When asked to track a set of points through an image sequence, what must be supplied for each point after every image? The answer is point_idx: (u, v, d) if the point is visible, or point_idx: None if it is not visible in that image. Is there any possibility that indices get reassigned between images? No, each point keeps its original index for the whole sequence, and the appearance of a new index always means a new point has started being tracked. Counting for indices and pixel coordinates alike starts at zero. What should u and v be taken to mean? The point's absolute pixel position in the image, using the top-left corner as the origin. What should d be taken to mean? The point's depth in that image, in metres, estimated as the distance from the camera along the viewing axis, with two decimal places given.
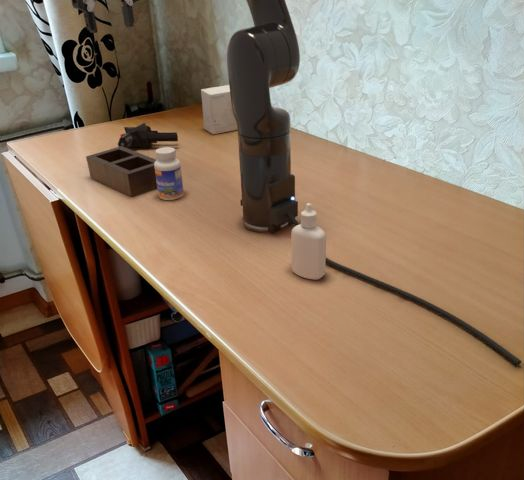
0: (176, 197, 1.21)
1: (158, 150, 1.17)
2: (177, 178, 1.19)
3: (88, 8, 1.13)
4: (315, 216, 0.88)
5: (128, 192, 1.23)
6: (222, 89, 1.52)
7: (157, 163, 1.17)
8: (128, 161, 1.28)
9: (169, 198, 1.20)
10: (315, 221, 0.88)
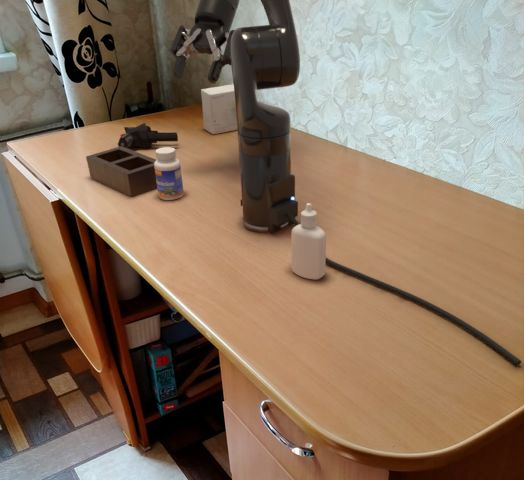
0: (176, 197, 1.21)
1: (158, 150, 1.17)
2: (177, 178, 1.19)
3: (177, 53, 1.19)
4: (315, 216, 0.88)
5: (128, 192, 1.23)
6: (222, 89, 1.52)
7: (157, 163, 1.17)
8: (128, 161, 1.28)
9: (169, 198, 1.20)
10: (315, 221, 0.88)
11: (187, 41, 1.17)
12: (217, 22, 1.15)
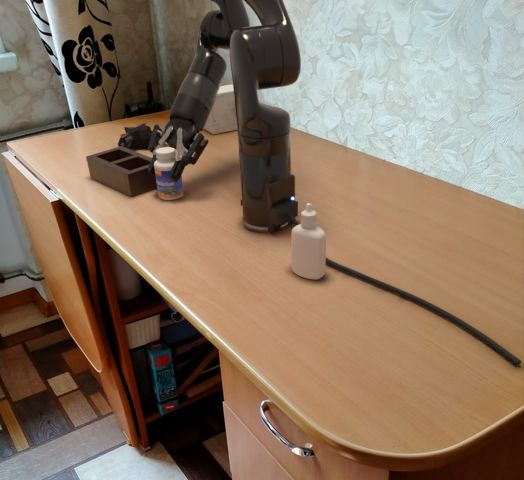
0: (176, 197, 1.21)
1: (158, 150, 1.17)
2: None
3: (153, 152, 1.20)
4: (315, 216, 0.88)
5: (128, 192, 1.23)
6: (222, 89, 1.52)
7: (157, 163, 1.17)
8: (128, 161, 1.28)
9: (169, 198, 1.20)
10: (315, 221, 0.88)
11: (161, 139, 1.19)
12: (189, 121, 1.17)
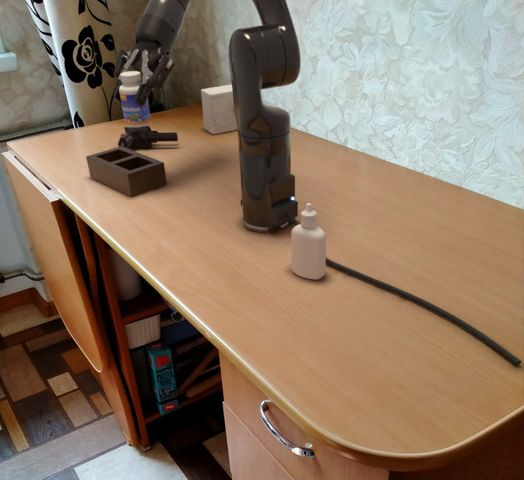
0: (143, 124, 1.17)
1: (123, 73, 1.13)
2: None
3: (119, 77, 1.16)
4: (315, 216, 0.88)
5: (128, 192, 1.23)
6: (222, 89, 1.52)
7: (121, 87, 1.13)
8: (128, 161, 1.28)
9: (135, 125, 1.17)
10: (315, 221, 0.88)
11: (127, 63, 1.15)
12: (155, 43, 1.13)
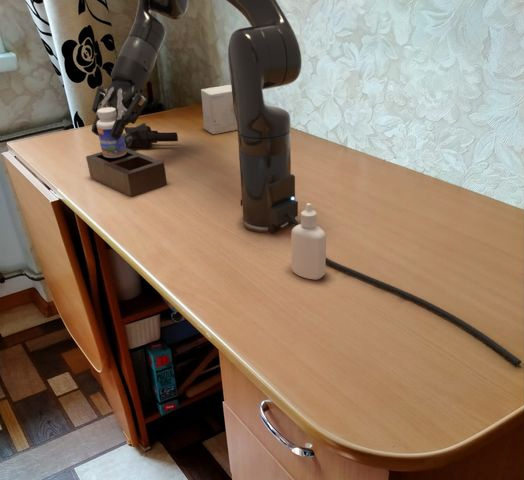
0: (119, 155, 1.28)
1: (99, 110, 1.24)
2: None
3: (96, 112, 1.27)
4: (315, 216, 0.88)
5: (128, 192, 1.23)
6: (222, 89, 1.52)
7: (98, 122, 1.24)
8: (128, 161, 1.28)
9: (112, 156, 1.27)
10: (315, 221, 0.88)
11: (103, 100, 1.26)
12: (129, 82, 1.24)
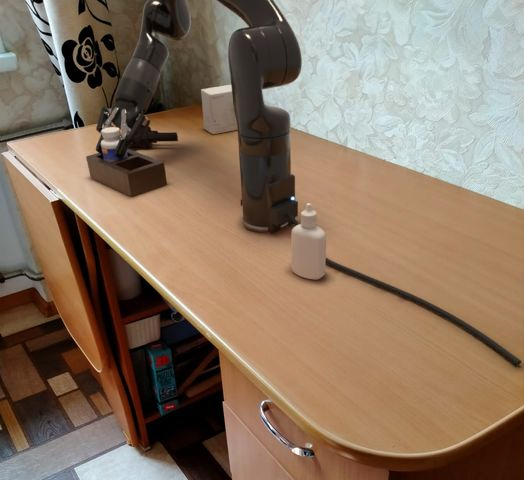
0: None
1: (104, 130, 1.26)
2: None
3: (101, 131, 1.29)
4: (315, 216, 0.88)
5: (128, 192, 1.23)
6: (222, 89, 1.52)
7: (103, 142, 1.27)
8: (128, 161, 1.28)
9: None
10: (315, 221, 0.88)
11: (108, 120, 1.28)
12: (132, 102, 1.26)
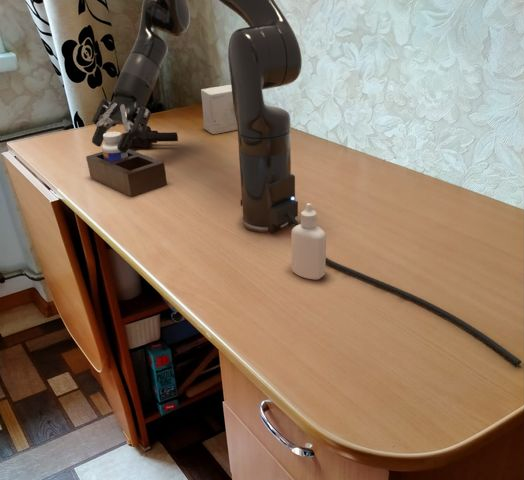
0: None
1: (105, 134, 1.27)
2: None
3: (97, 123, 1.29)
4: (315, 216, 0.88)
5: (128, 192, 1.23)
6: (222, 89, 1.52)
7: (104, 146, 1.27)
8: (128, 161, 1.28)
9: None
10: (315, 221, 0.88)
11: (105, 113, 1.28)
12: (131, 98, 1.25)
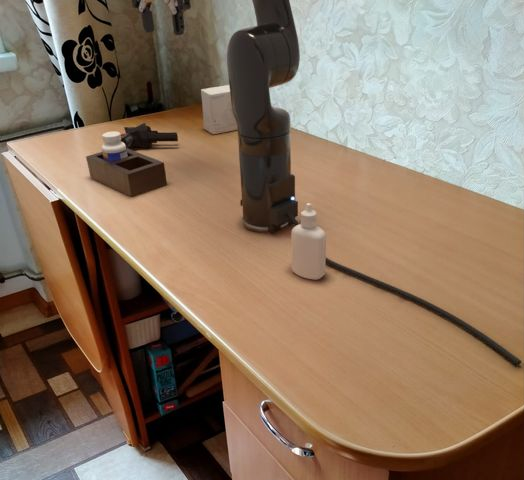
0: None
1: (104, 134, 1.27)
2: None
3: (139, 8, 1.19)
4: (315, 216, 0.88)
5: (128, 192, 1.23)
6: (222, 89, 1.52)
7: (103, 146, 1.27)
8: (128, 161, 1.28)
9: None
10: (315, 221, 0.88)
11: None
12: None
